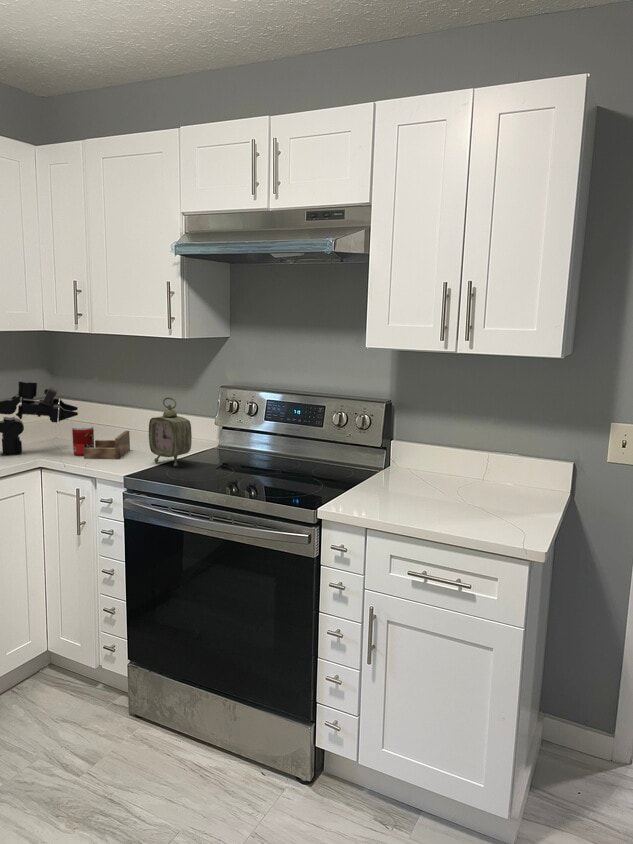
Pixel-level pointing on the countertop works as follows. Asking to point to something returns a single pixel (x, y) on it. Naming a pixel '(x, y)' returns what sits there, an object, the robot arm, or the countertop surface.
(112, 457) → the cradle
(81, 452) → the canned food
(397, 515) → the countertop surface
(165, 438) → the tabletop clock
